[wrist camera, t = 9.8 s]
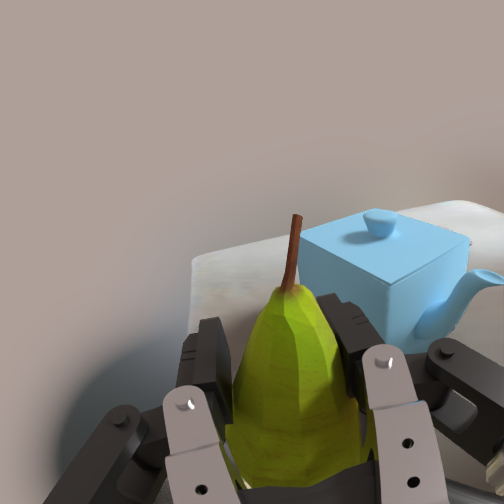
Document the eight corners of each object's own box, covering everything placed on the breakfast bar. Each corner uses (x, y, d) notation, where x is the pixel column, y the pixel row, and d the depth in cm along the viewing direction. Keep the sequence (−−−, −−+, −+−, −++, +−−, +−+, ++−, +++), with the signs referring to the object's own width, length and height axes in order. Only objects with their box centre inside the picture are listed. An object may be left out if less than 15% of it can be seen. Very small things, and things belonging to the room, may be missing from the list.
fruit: (212, 483, 11) (91, 264, 6) (275, 404, 15) (234, 196, 11) (333, 533, 7) (384, 317, 3) (380, 431, 12) (411, 193, 7)
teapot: (294, 317, 35) (277, 209, 30) (363, 286, 38) (358, 187, 33) (421, 441, 16) (475, 296, 10) (492, 368, 19) (531, 234, 13)
